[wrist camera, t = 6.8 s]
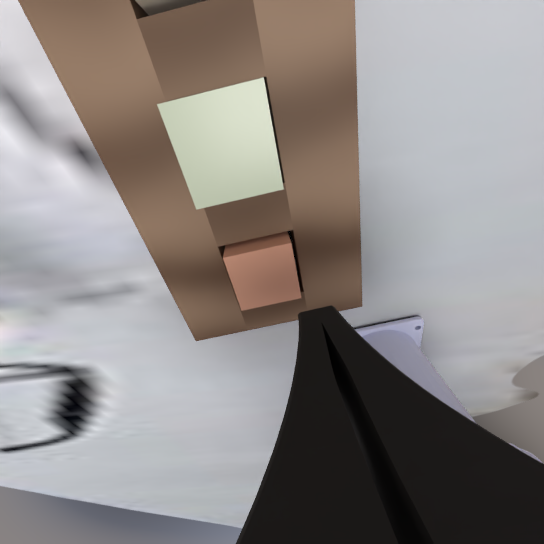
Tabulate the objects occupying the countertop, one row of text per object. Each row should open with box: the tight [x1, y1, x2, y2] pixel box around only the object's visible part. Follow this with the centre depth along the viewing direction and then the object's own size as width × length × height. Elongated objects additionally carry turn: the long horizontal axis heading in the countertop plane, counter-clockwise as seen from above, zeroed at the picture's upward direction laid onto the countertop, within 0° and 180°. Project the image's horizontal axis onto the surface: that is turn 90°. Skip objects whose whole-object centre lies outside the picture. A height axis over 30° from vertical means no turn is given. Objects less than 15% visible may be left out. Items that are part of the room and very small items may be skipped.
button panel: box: [18, 0, 362, 341], centre depth 13 cm, size 23×12×2 cm, turn 12°
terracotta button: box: [223, 231, 301, 311], centre depth 16 cm, size 4×4×3 cm
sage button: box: [157, 77, 284, 210], centre depth 11 cm, size 4×4×3 cm
